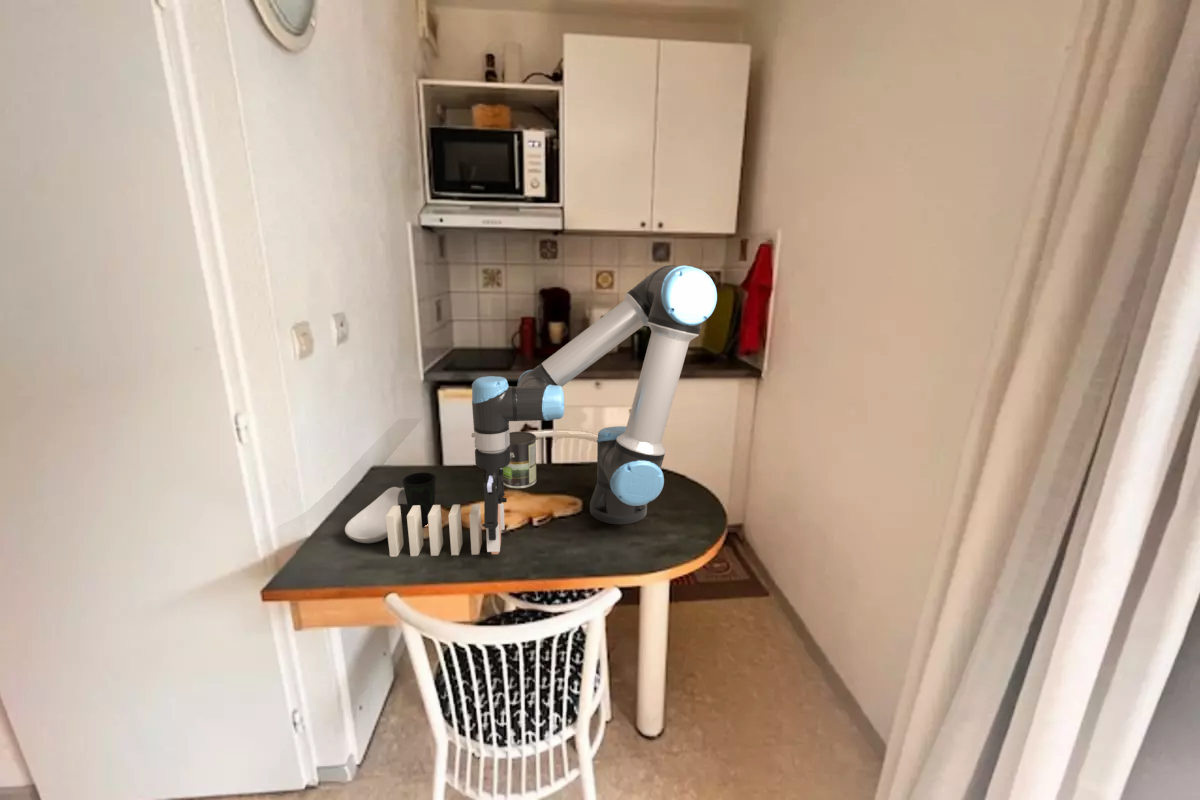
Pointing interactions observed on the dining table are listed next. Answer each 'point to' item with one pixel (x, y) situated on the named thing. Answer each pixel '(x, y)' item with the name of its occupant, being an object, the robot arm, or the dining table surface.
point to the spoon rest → (375, 517)
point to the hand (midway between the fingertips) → (496, 539)
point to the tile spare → (499, 528)
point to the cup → (420, 493)
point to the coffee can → (521, 461)
